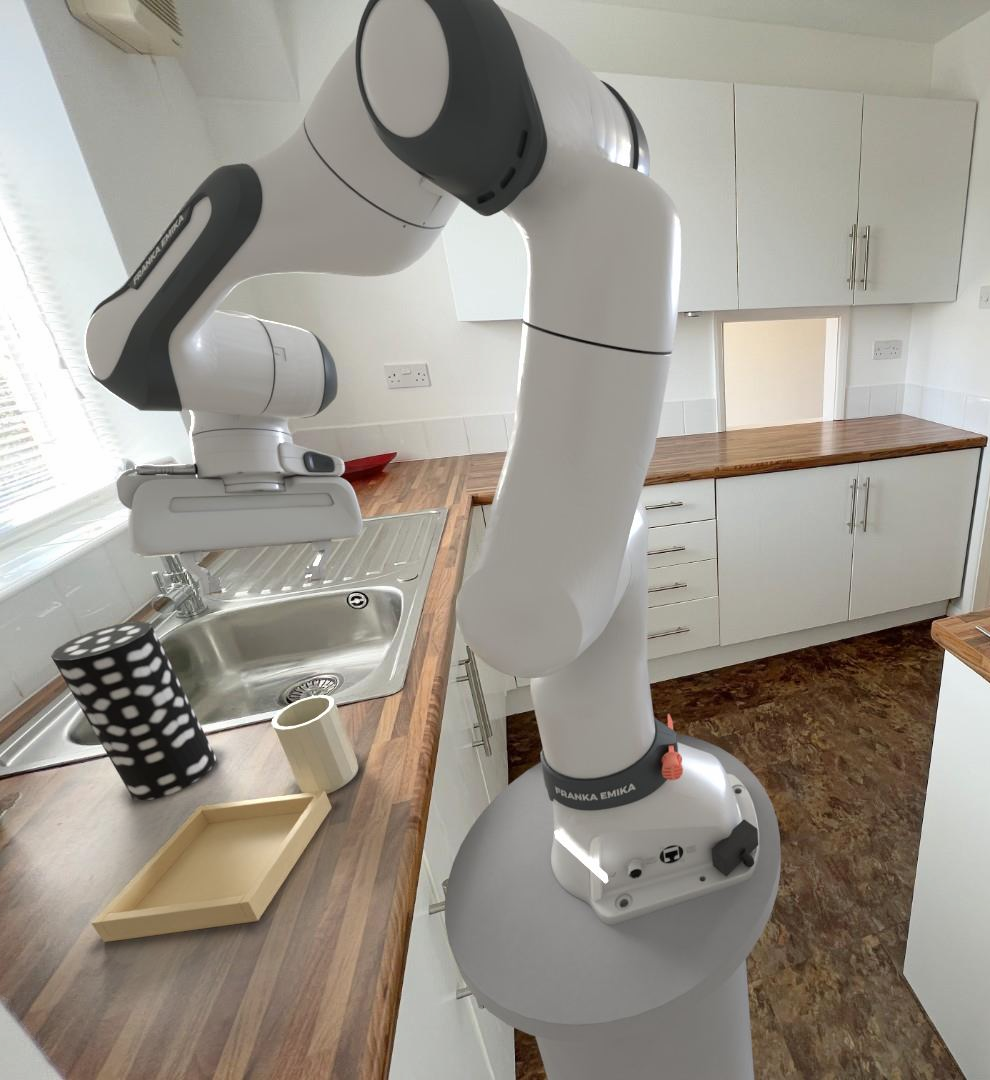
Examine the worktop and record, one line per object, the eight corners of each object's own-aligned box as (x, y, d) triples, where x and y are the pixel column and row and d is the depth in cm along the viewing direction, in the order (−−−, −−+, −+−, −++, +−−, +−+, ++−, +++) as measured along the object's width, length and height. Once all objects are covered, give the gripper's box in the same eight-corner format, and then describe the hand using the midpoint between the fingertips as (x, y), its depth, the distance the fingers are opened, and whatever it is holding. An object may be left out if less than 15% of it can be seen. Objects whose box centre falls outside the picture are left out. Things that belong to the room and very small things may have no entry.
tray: (332, 807, 68) (325, 790, 67) (258, 921, 55) (248, 902, 54) (208, 823, 66) (199, 805, 66) (103, 942, 54) (91, 923, 53)
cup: (367, 756, 75) (344, 692, 71) (343, 793, 69) (316, 725, 66) (317, 762, 75) (291, 698, 71) (289, 800, 69) (259, 732, 65)
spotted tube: (133, 774, 75) (58, 640, 67) (215, 742, 80) (153, 614, 72) (127, 812, 69) (44, 669, 61) (216, 775, 74) (149, 639, 66)
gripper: (117, 457, 54) (140, 603, 54) (358, 459, 70) (376, 572, 70) (109, 470, 58) (131, 606, 58) (339, 470, 74) (356, 576, 74)
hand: (266, 587), depth 64 cm, fingers open, 8 cm apart
